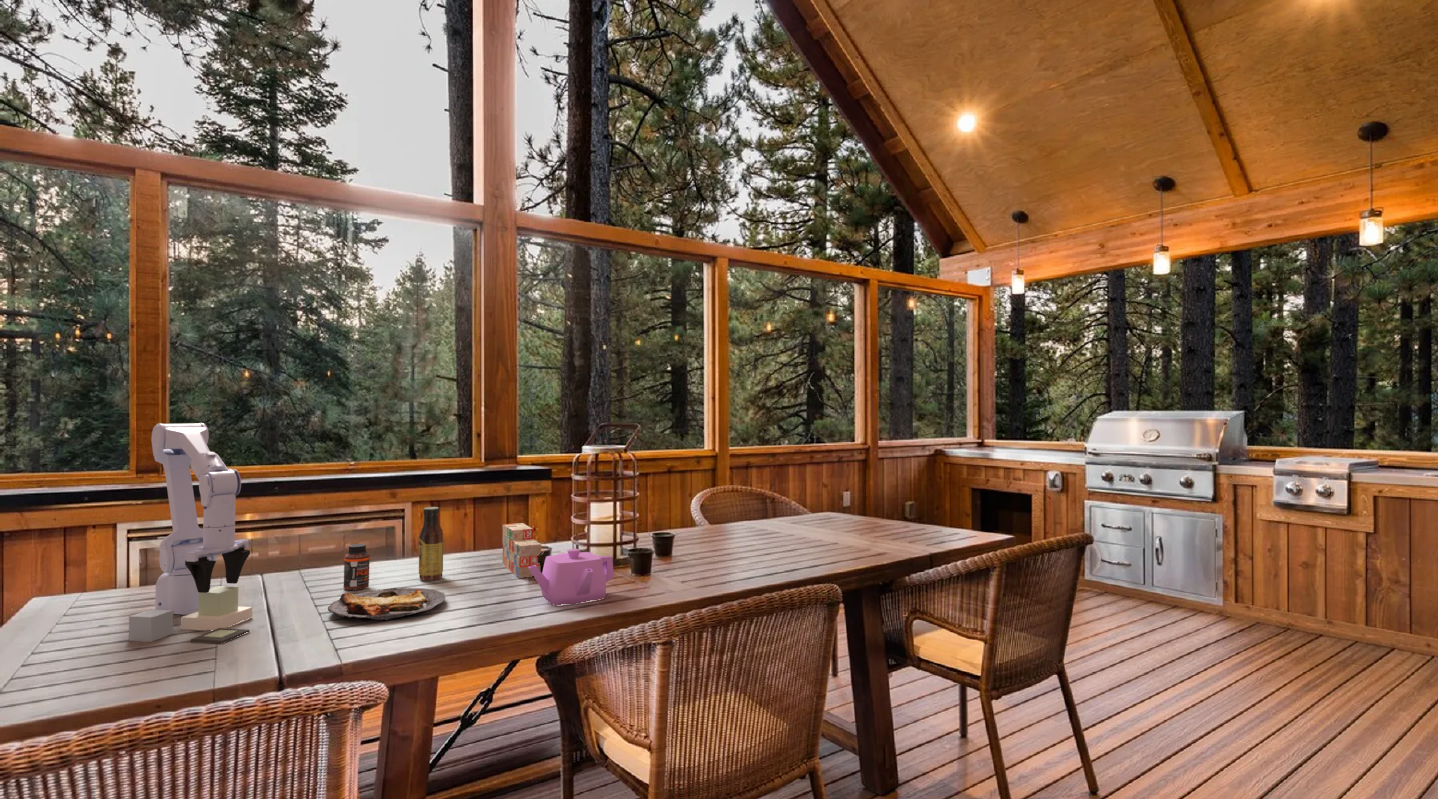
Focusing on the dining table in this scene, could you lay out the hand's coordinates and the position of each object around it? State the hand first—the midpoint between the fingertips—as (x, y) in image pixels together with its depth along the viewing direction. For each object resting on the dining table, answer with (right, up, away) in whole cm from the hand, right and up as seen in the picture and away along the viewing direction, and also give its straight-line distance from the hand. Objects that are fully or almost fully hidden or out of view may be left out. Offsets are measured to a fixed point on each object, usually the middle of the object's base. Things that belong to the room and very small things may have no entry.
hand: (218, 587), depth 154 cm
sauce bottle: (+30, -9, +41) cm, 51 cm away
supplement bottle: (+15, -9, +30) cm, 35 cm away
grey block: (-7, -8, -9) cm, 14 cm away
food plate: (+32, -9, +12) cm, 35 cm away
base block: (0, -8, 0) cm, 8 cm away
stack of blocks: (+52, -9, +53) cm, 74 cm away
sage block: (0, -5, 0) cm, 5 cm away
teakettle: (+73, -9, +23) cm, 77 cm away
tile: (+7, -8, -9) cm, 14 cm away
